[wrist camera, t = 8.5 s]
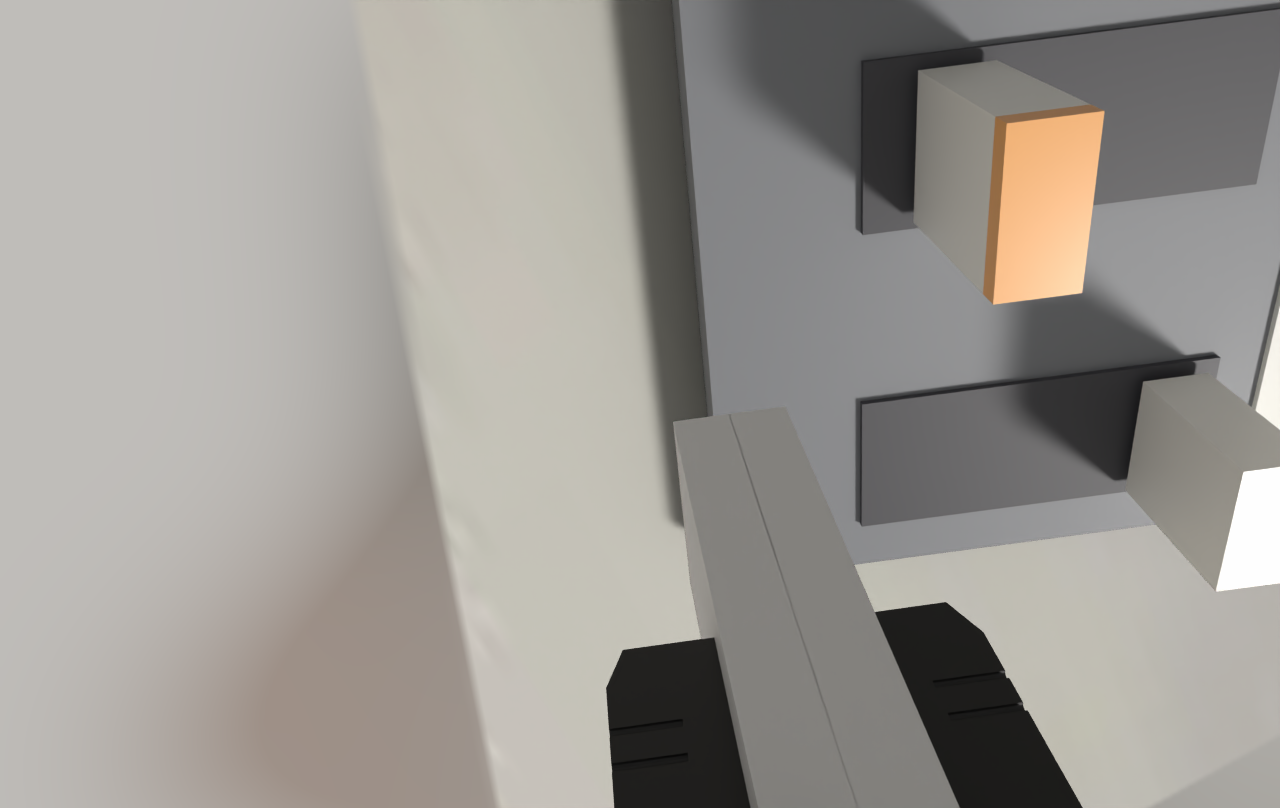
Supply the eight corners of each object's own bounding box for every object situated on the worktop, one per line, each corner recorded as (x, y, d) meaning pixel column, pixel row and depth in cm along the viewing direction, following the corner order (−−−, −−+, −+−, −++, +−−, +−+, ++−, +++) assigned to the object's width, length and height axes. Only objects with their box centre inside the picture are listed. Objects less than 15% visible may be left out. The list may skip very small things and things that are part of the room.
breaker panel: (628, -500, 21) (635, -535, 19) (1550, -611, 21) (1649, -658, 19) (718, 544, 35) (727, 585, 33) (1276, 471, 35) (1318, 506, 33)
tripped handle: (918, 70, 25) (1006, 123, 20) (996, 60, 25) (1104, 111, 20) (913, 222, 27) (993, 304, 22) (986, 212, 27) (1082, 293, 22)
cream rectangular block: (1142, 381, 30) (1243, 471, 25) (1208, 372, 30) (1319, 462, 25) (1125, 490, 32) (1215, 591, 27) (1186, 481, 32) (1286, 582, 27)
